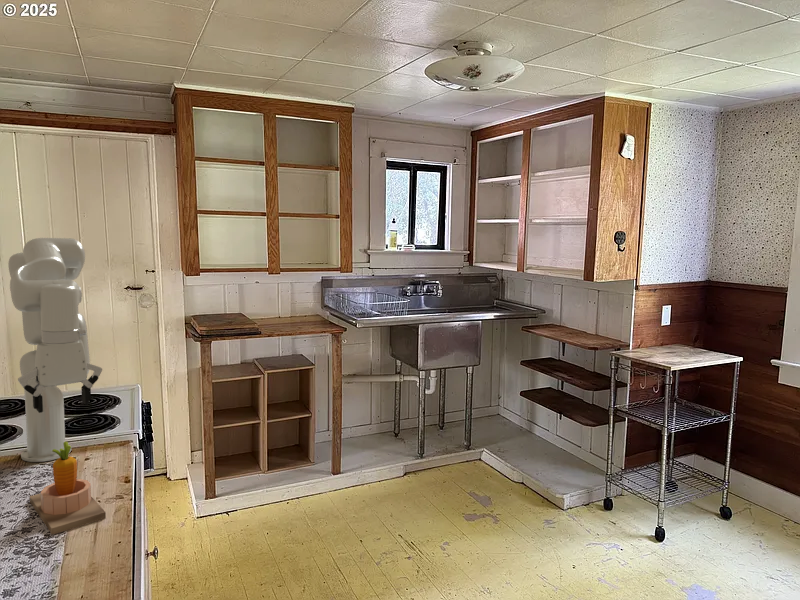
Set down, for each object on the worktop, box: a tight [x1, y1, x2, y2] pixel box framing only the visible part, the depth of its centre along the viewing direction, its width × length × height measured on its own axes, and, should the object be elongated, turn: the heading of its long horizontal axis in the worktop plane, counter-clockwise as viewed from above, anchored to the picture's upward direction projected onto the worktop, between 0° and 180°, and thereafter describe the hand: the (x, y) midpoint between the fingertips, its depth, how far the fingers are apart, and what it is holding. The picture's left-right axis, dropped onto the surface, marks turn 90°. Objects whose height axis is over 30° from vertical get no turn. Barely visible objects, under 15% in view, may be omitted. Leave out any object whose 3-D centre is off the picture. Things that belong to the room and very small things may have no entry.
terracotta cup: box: [40, 478, 92, 515], centre depth 133 cm, size 10×10×4 cm
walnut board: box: [29, 492, 106, 536], centre depth 133 cm, size 20×11×2 cm, turn 45°
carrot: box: [52, 441, 78, 496], centre depth 132 cm, size 5×5×15 cm
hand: (63, 407), depth 132 cm, fingers open, 9 cm apart
